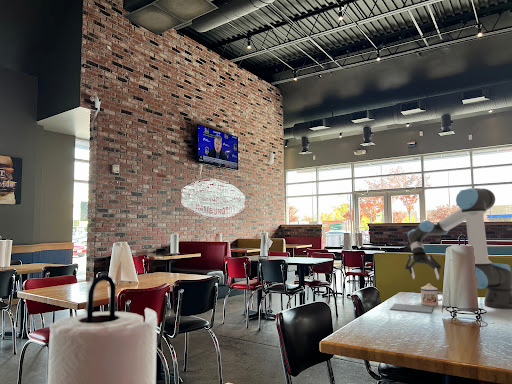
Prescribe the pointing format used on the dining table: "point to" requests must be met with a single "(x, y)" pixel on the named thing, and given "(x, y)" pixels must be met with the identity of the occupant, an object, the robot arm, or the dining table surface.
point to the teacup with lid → (429, 295)
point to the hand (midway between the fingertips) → (426, 278)
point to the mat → (412, 308)
